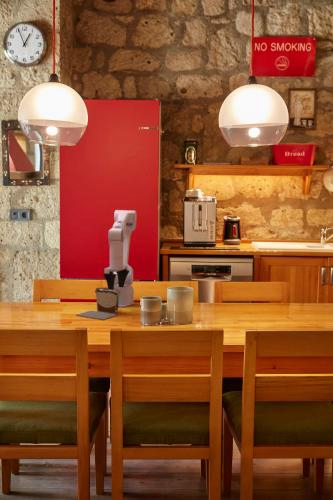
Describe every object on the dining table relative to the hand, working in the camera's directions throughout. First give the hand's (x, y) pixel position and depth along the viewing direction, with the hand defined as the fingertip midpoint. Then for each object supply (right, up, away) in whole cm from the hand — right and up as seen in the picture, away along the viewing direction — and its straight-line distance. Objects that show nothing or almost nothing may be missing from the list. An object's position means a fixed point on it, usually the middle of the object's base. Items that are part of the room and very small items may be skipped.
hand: (116, 288), depth 234 cm
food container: (-3, -10, +3) cm, 11 cm away
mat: (-7, -11, -6) cm, 14 cm away
